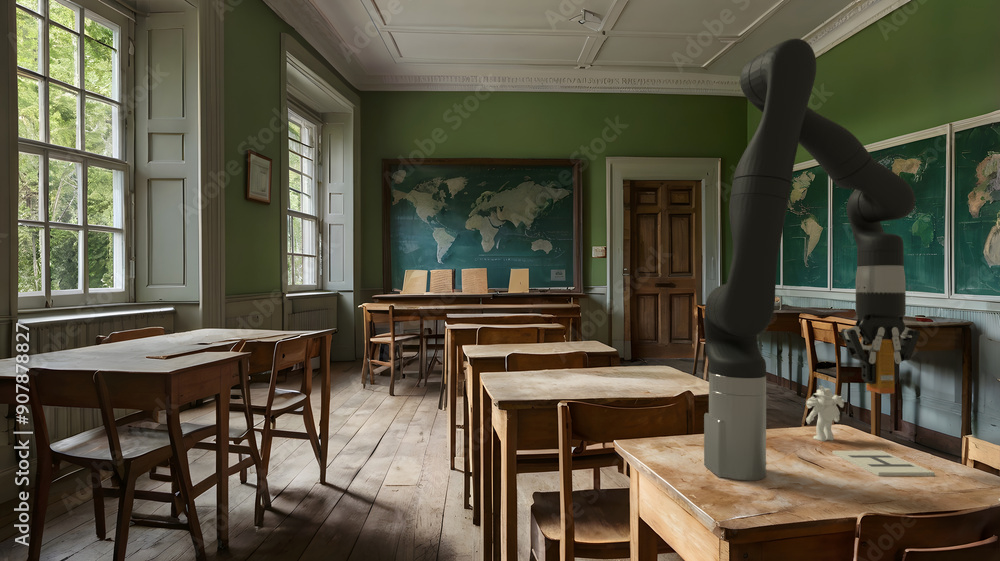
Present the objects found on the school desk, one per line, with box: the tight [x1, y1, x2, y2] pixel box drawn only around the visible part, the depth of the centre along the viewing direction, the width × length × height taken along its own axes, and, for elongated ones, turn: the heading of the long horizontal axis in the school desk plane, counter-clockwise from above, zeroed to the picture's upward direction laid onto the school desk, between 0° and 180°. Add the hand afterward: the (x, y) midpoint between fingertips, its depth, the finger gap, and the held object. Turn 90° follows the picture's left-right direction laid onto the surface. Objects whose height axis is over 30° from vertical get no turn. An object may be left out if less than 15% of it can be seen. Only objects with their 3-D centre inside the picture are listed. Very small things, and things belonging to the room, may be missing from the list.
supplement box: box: [866, 339, 895, 395], centre depth 96 cm, size 3×3×10 cm
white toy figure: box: [805, 384, 845, 442], centre depth 112 cm, size 9×4×12 cm, turn 106°
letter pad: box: [832, 450, 936, 477], centre depth 96 cm, size 10×12×1 cm
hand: (880, 382), depth 96 cm, fingers closed on supplement box, 3 cm apart
